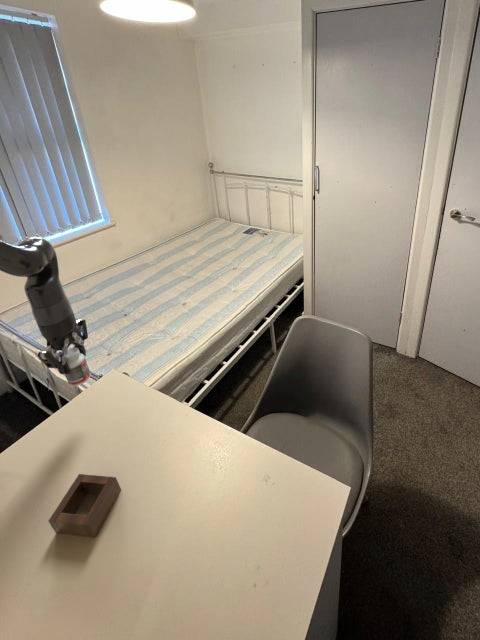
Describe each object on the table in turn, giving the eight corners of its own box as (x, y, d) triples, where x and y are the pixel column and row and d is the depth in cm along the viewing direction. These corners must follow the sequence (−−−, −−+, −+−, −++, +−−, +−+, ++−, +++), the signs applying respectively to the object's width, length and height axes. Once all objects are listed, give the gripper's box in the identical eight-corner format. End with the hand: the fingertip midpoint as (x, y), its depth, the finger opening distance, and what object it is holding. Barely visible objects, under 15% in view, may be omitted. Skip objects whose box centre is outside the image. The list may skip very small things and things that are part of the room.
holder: (55, 533, 69) (47, 521, 67) (85, 486, 78) (79, 473, 75) (95, 537, 68) (89, 525, 66) (121, 489, 77) (116, 477, 75)
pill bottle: (92, 380, 89) (82, 354, 85) (69, 390, 86) (57, 363, 82) (90, 368, 93) (80, 342, 89) (68, 377, 90) (57, 350, 86)
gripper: (61, 297, 87) (79, 345, 94) (15, 333, 74) (40, 385, 81) (87, 298, 87) (104, 346, 94) (45, 334, 74) (67, 387, 81)
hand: (74, 364), depth 87 cm, fingers closed on pill bottle, 5 cm apart
